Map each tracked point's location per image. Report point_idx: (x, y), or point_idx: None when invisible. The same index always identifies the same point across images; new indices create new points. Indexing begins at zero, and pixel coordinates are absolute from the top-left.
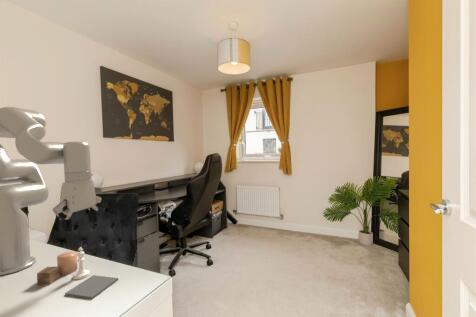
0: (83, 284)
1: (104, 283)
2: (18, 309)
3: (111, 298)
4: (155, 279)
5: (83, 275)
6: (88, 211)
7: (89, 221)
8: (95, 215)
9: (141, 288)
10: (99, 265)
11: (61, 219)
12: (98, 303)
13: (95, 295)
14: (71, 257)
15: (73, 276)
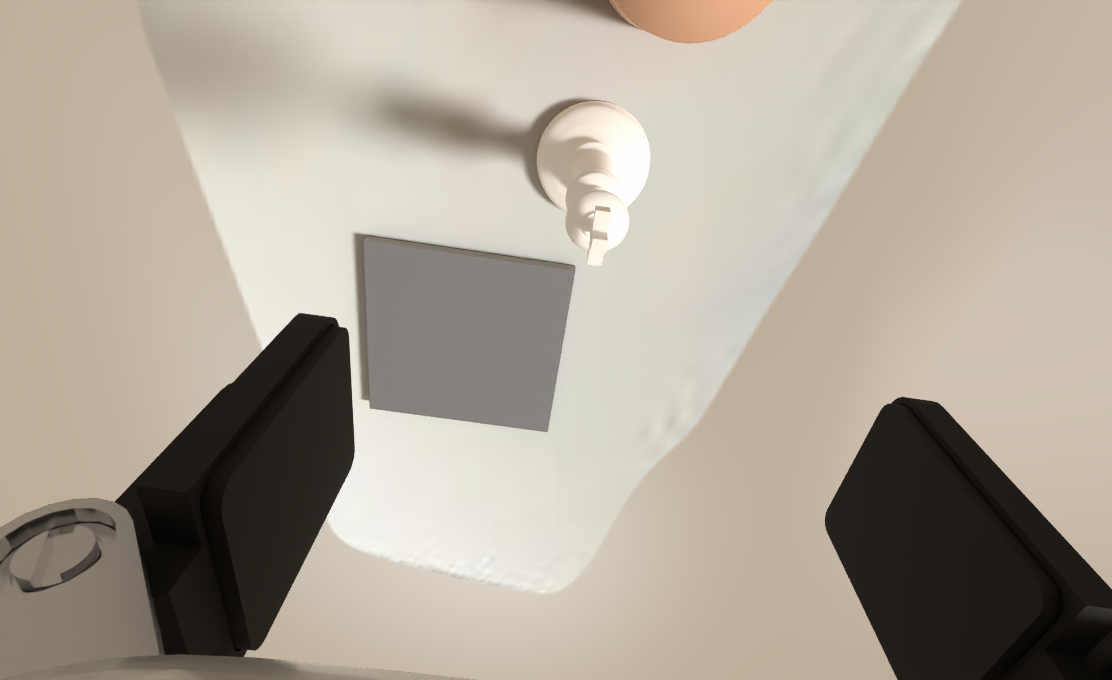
0: (462, 285)
1: (488, 394)
2: (178, 53)
3: (398, 471)
4: (561, 567)
5: (561, 207)
6: (1083, 606)
7: (881, 423)
8: (889, 646)
9: (486, 543)
10: (750, 192)
11: (67, 545)
12: (355, 442)
13: (390, 408)
14: (656, 34)
15: (548, 131)
